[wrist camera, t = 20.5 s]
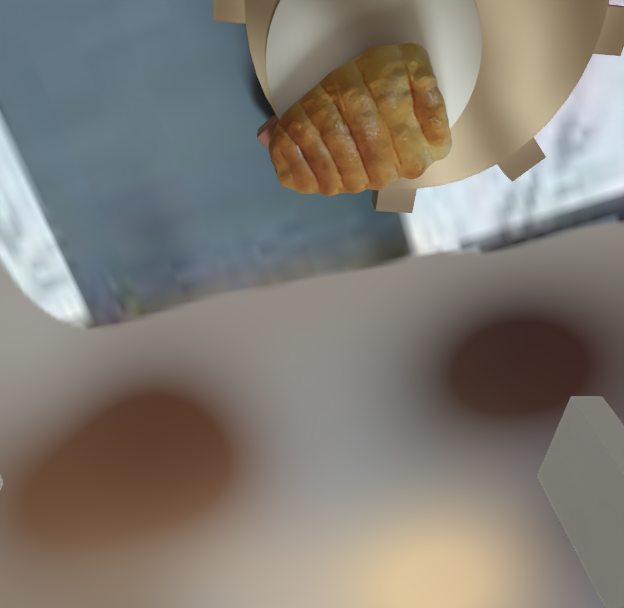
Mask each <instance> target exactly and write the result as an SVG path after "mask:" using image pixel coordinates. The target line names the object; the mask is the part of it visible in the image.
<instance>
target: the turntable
mask: <svg viewBox="0 0 624 608" xmlns="http://www.w3.org/2000/svg"><path fill="white" fill-rule="evenodd" d="M608 4H609V0H213V17H214V21H222V22H234V23H245V24H246V29H247V35H248V41H249V48H250V53H251V56H252V60H253V63H254V67H255V70H256V74H257V77H258V79H259V82H260V84H261V86H262V89H263V91H264V93H265V96H266V98H267V100H268V101H269V103H270V105H271V107H272V108H273V110H274V112H275V114H274V115H273V116H272V117H271V118H270V119H269V120H268V121H267V122H265V123H264V124H263V125H262V126H261V127H260V128H259V129H258V133H257V138H258V139H259V140H260V141H261V142H262V143H263V145H264V146H265V147H266V148H267V149H268V145H269V141H270V139H271V136H272V133H273V131H274V130H275V128H276V125H277V123H278V122H279V120H280V118H281V117H282V115H283V114H284V113H285V112H286V111H287V110H288V109H289V108H290V107H291V106H292V105H293V104H294V103H295V102H297V101H298V100H299V99H301V98H302V97H303V96H304V95H305V94H306V93H307V92H309V91H310V90H311V89H312V88H313V87H315V85H317V84H318V83H319V82H320V81H321V80H323V79H324V78H325V77H326V76H327V75H328V74H329V73H330V72H332V71H333V70H335V69H337V68H338V67H340V66H342V65H344V64H346V63H347V62H349V61H351V60H352V59H353V58H355V57H357V56H358V55H360V54H362V53H363V52H365V51H366V50H367V49H369V48H371V47H374V46H378V45H396V44H403V43H415V44H419V45H420V46H422V47H423V48H424V49H425V50H426V51H427V52H428V54H429V57H430V62H431V65H432V68H433V73H434V75H435V77H436V79H437V87H438V89H439V91H440V92H441V94H442V96H443V99H444V102H445V105H446V112H447V116H448V120H449V128H450V132H451V139H452V147H451V149H450V152H449V154H448V155H447V156H446V157H445V158H444V159H442V160H438V161H435V162H434V163H433V164H431V165H430V166H429V167H428V168H427V169H426V171H425V172H424V173H423V174H422V175H421V176H420V177H418V178H416V179H408V178H404V177H402V178H399V179H398V180H397V181H393V182H392V183H390V184H389V185H387V186H386V187H384V188H382V189H380V190H373V195H372V203H373V205H374V208H375V211H387V212H404V213H412V210H413V205H414V200H415V195H416V190H417V188H425V187H433V186H440V185H444V184H448V183H452V182H456V181H459V180H462V179H465V178H467V177H470V176H473V175H475V174H478V173H480V172H482V171H484V170H486V169H488V168H490V167H492V166H494V165H496V164H498V166H499V167H500V169H501V170H502V172H503V173H504V174H505V175H506V176H507V177H508V178H509V179H510V180H511V181H514V180H515V179H517V178H518V177H519V176H521V175H522V174H523V173H525V172H526V171H528V170H529V169H530V168H532V167H533V166H534V165H536V164H537V163H539V162H540V161H541V160H543V159H544V158H545V157H546V156H545V155H544V153H543V152H542V150H541V148H540V147H539V145H538V144H537V142H536V140H535V139H534V136H535V135H536V134H537V133H538V132H539V131H540V130H541V129H542V128H543V127H544V126H545V125H546V124H547V123H548V122H549V121H550V120H551V119H552V118H553V116H554V115H555V114H556V112H557V111H558V110H559V109H560V107H561V106H562V105H563V104H564V102H565V101H566V100H567V98H568V97H569V95H570V94H571V92H572V91H573V89H574V87H575V86H576V84H577V83H578V81H579V80H580V78H581V76H582V74H583V72H584V70H585V68H586V66H587V64H588V62H589V60H590V58H591V56H592V54H604V55H616V56H620V55H621V52H622V50H623V47H624V6H618V5H608ZM268 150H269V149H268Z"/></svg>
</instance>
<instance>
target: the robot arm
mask: <svg viewBox="0 0 624 608" xmlns="http://www.w3.org/2000/svg"><path fill="white" fill-rule="evenodd" d="M537 477H538V479H539V481H540V483H541V485H542V487H543V489H544V491H545V493H546V495H547V497H548V499H549V501H550V503H551V505H552V507H553V508H554V510H555V512H556V514H557V516H558V518H559V520H560V522H561V524H562V526H563V528H564V530H565V532H566V534H567V536H568V538H569V540H570V542H571V543H572V545H573V547H574V549H575V551H576V553H577V555H578V557H579V559H580V561H581V563H582V565H583V567H584V569H585V571H586V573H587V575H588V577H589V578H590V580H591V582H592V584H593V586H594V588H595V590H596V592H597V594H598V596H599V598H600V600H601V602H602V604H603V605H604V608H624V425H623V424H622V423H621V421H620V420H619V419H618V417H617V416H616V415H615V413H614V412H613V411H612V409H611V408H610V407H609V405H608V404H607V402H606V401H605V400H604V398H603V397H602V396H571V397H570V400H569V402H568V405H567V407H566V409H565V412H564V414H563V416H562V419H561V421H560V423H559V426H558V428H557V430H556V433H555V435H554V437H553V440H552V442H551V444H550V447H549V449H548V451H547V454H546V456H545V459H544V461H543V463H542V465H541V468H540V470H539V472H538V475H537ZM2 485H3V481H2V478H1V475H0V490H1V487H2Z"/></svg>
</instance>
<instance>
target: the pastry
mask: <svg viewBox="0 0 624 608" xmlns="http://www.w3.org/2000/svg"><path fill="white" fill-rule="evenodd" d="M451 147H452V139H451V132H450V128H449V120H448V116H447V112H446V105H445V102H444V99H443V96H442V94H441V92H440V91H439V89H438V87H437V79H436V77H435V75H434V73H433V68H432V65H431V62H430V57H429V54H428V52H427V51H426V50H425V49H424V48H423V47H422V46H420V45H419V44H415V43H403V44H396V45H378V46H374V47H371V48H369V49H367V50H366V51H365V52H363V53H362V54H360V55H358V56H357V57H355V58H353V59H352V60H351V61H349V62H347V63H346V64H344V65H342V66H340V67H338V68H337V69H335V70H333V71H332V72H330V73H329V74H328V75H327V76H326V77H325V78H324V79H323V80H321V81H320V82H319V83H318V84H317V85H315V87H313V88H312V89H311V90H310V91H309V92H307V93H306V94H305V95H304V96H303V97H302V98H301V99H299V100H298V101H297V102H295V103H294V104H293V105H292V106H291V107H290V108H289V109H288V110H287V111H286V112H285V113H284V114H283V115H282V117H281V118H280V120H279V122H278V123H277V125H276V128H275V130H274V131H273V133H272V136H271V139H270V141H269V145H268V149H269V153H270V157H271V161H272V164H273V166H274V168H275V171H276V175H277V178H278V180H279V182H280V183H281V184H282V185H283V186H285V187H287V188H290V189H293V190H295V191H297V192H299V193H302V194H310V193H321V194H323V195H327V196H333V195H335V194H338V193H344V192H347V193H360V192H362V191H364V190H366V189H372V190H380V189H382V188H384V187H386V186H387V185H389V184H390V183H392V182H393V181H397V180H398V179H399V178H402V177H404V178H408V179H416V178H418V177H420V176H421V175H422V174H423V173H424V172H425V171H426V169H427V168H428V167H429V166H430V165H431V164H433V163H434V162H435V161H438V160H442V159H444V158H445V157H446V156H447V155H448V154H449V152H450V149H451Z"/></svg>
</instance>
